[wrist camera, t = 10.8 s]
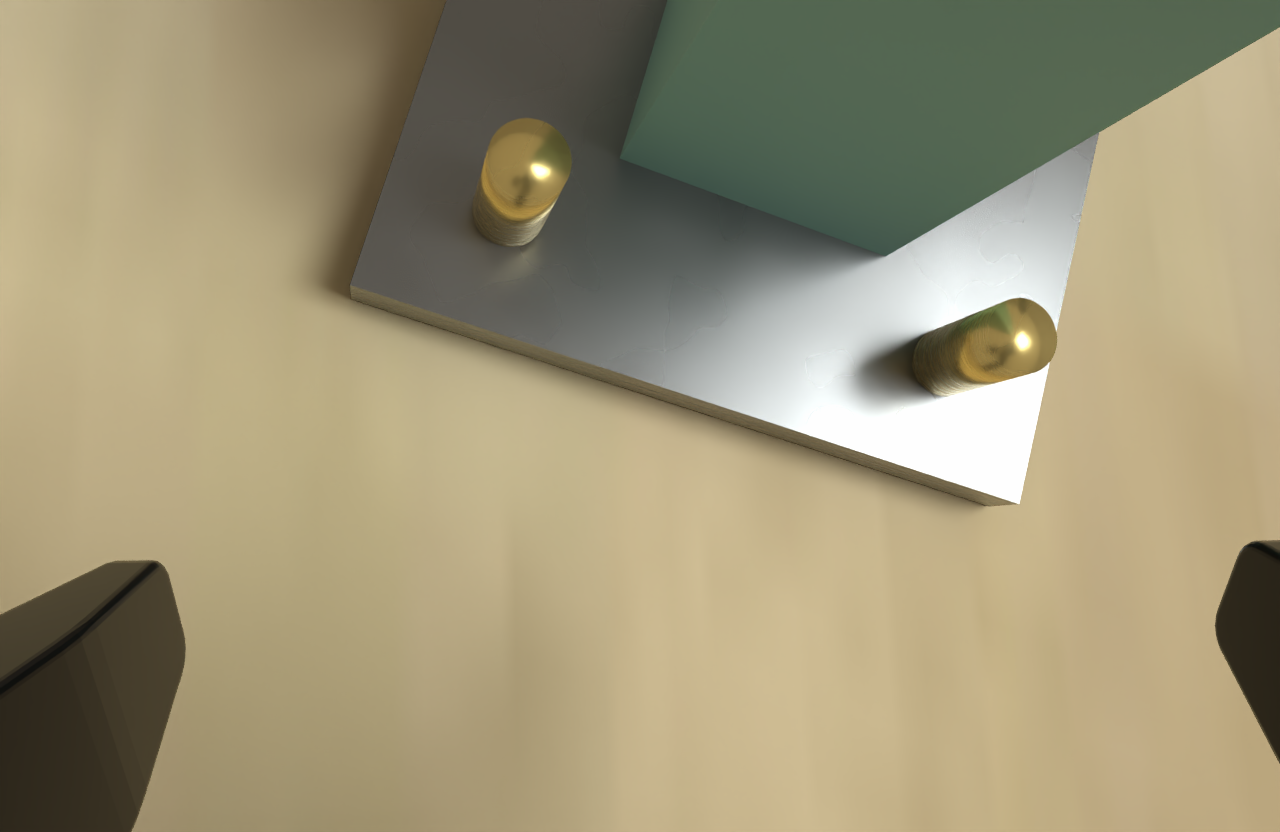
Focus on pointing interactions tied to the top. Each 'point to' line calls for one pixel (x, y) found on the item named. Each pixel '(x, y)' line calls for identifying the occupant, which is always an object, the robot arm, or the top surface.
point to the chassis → (709, 262)
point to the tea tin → (906, 97)
